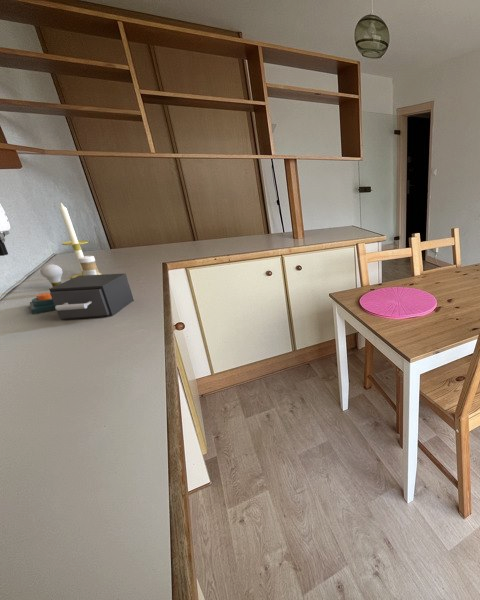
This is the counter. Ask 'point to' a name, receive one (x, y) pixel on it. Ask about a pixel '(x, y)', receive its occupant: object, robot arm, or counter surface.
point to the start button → (44, 296)
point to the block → (42, 305)
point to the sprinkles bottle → (88, 265)
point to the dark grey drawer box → (111, 286)
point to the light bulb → (52, 273)
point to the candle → (72, 237)
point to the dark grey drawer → (79, 303)
